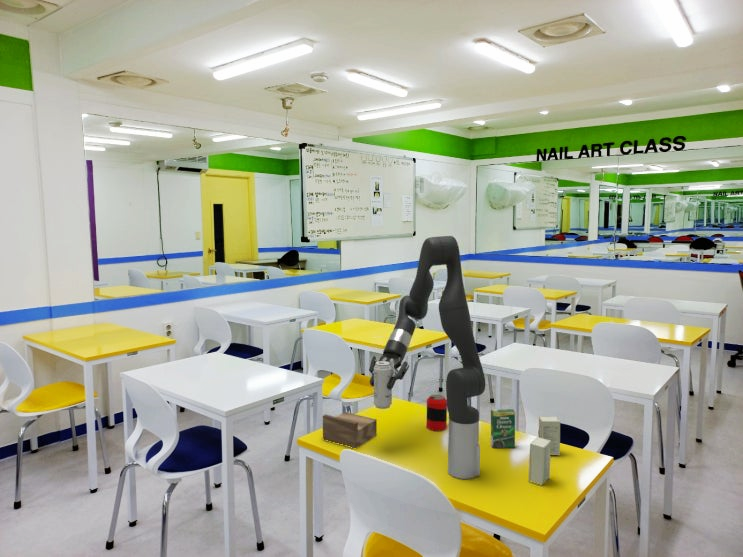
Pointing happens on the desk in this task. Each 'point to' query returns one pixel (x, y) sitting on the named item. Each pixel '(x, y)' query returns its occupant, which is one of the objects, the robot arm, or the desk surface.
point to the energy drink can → (382, 385)
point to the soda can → (436, 413)
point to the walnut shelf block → (349, 429)
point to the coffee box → (503, 428)
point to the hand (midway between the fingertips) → (380, 386)
